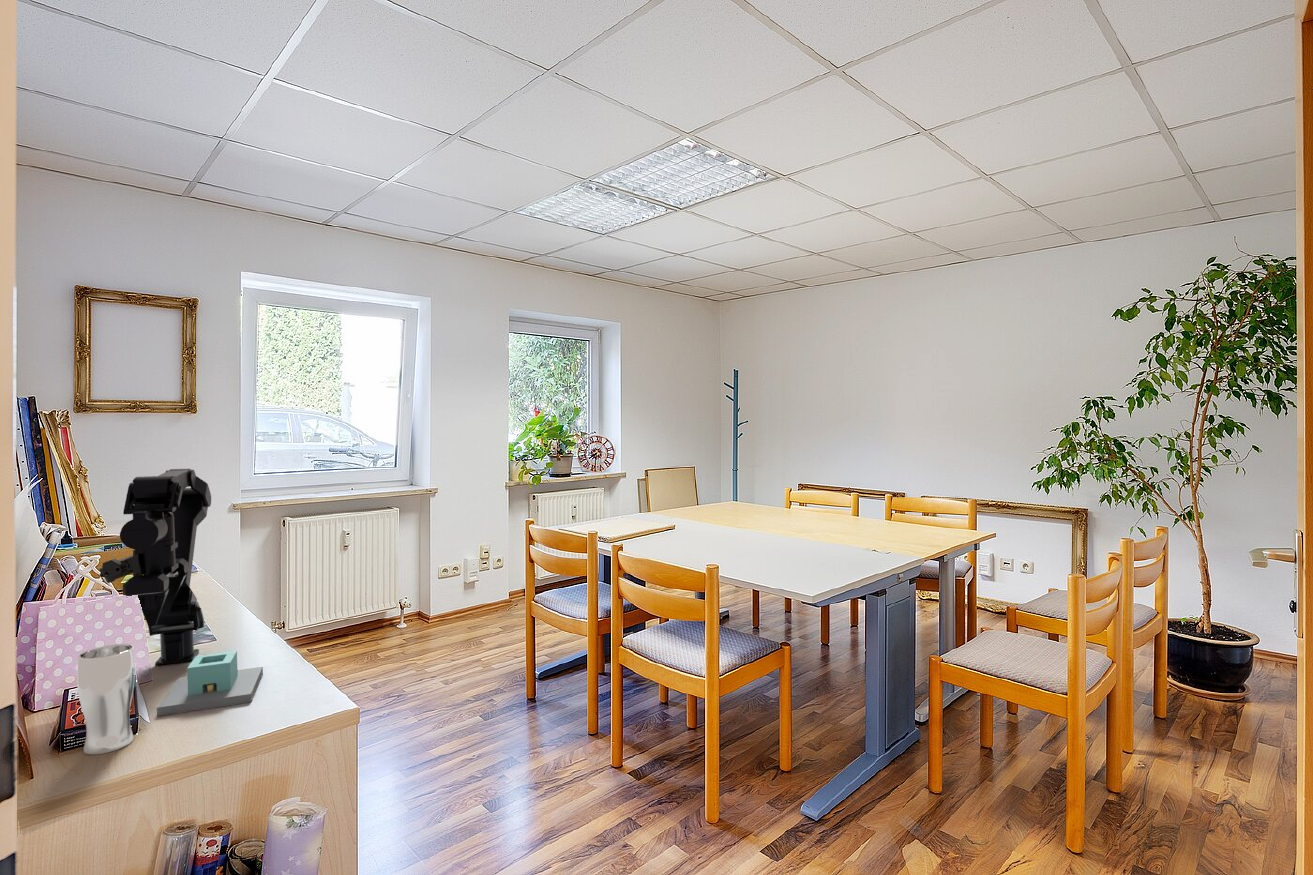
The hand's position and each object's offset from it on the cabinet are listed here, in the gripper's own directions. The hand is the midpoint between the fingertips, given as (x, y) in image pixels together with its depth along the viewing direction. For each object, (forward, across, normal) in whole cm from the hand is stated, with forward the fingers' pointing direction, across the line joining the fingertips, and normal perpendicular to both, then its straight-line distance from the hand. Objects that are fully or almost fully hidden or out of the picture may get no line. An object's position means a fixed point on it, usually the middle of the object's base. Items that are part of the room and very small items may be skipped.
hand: (159, 619), depth 129 cm
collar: (+10, +12, +11) cm, 19 cm away
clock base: (+12, +12, +11) cm, 20 cm away
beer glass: (+12, +28, 0) cm, 31 cm away
